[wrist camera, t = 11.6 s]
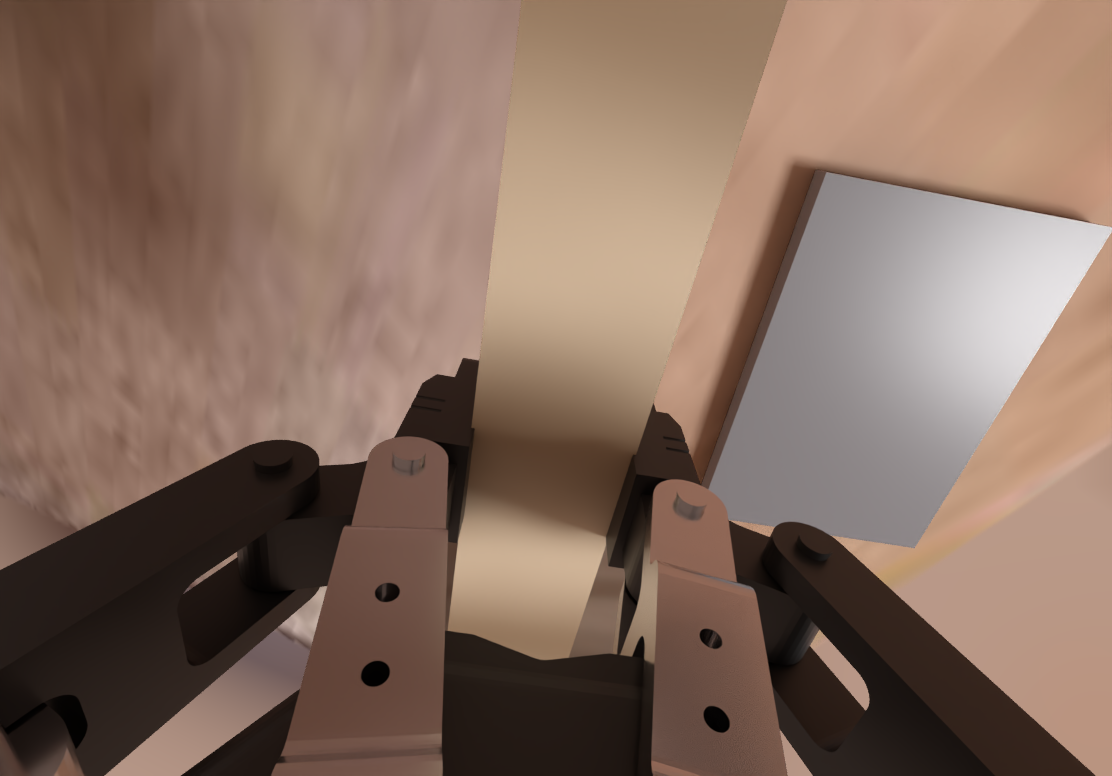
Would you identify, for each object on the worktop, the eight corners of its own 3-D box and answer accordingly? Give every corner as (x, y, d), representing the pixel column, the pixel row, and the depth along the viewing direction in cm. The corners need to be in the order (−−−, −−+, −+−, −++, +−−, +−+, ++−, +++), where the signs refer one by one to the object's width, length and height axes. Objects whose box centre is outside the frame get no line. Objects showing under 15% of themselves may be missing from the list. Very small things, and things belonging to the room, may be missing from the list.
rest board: (815, 169, 26) (826, 172, 25) (1092, 222, 27) (1114, 227, 26) (694, 502, 35) (698, 515, 34) (904, 534, 36) (914, 548, 34)
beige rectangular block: (409, -54, 10) (277, -125, 5) (840, 39, 10) (1021, 43, 6) (394, 529, 18) (336, 683, 14) (635, 566, 18) (652, 724, 14)
